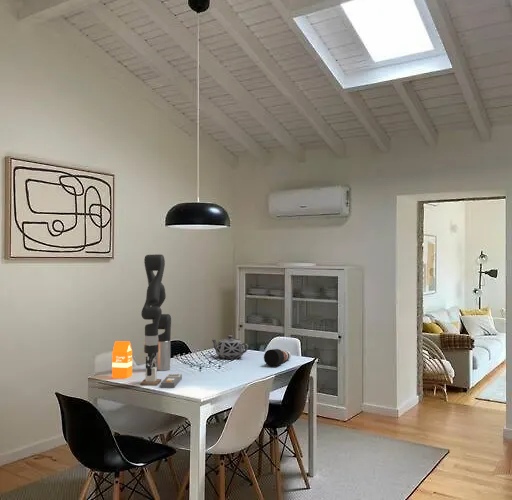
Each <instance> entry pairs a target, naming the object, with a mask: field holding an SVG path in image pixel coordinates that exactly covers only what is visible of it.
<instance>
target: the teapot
mask: <svg viewBox="0 0 512 500" xmlns="http://www.w3.org/2000/svg"><path fill="white" fill-rule="evenodd" d="M210 340H211V341H212V343H213V348H214V350H215V354H216V355H217V357H219V358H220V357H221V358H220V359H224V358H226V360H233V359H234V360H235V359H239V358H241V357H242V356H243V355H244V354H245V353H246V352H247V351H248V350H249V345H248V343H246V342H245V343H244V342H242V341H241V340H240V339H238V338H233V335H227V338H222V339H219V341H218V343H217V340H216V339H215V338H210ZM244 346H245V348H244Z"/></svg>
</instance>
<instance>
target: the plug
mask: <svg viewBox="0 0 512 500" xmlns="http://www.w3.org/2000/svg"><path fill="white" fill-rule="evenodd" d="M157 371H158V370H157V367H153V365H152V368H151V376H147V368H146V367H145V379H146V382H155V381H156V380H157V379H158V377H157V376H158V375H157V373H158V372H157Z"/></svg>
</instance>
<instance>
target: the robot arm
mask: <svg viewBox="0 0 512 500" xmlns="http://www.w3.org/2000/svg"><path fill="white" fill-rule="evenodd" d="M165 259H166V258H165V256H164V255H163V254H160V253H159V254H146V255H145V256H144V262H143V263H144V268H145V272H146V278H147V284H148V286H147V289H146V295H145V297H146V299H145V302H144V305H143V307H142V309H141V317H142V319H144V320H151V321H152V323H148V324H146V325H145V327H144V337H143V338H144V340H143V344H144V345H143V346H144V347H143V352H144V354H147V356H146V357H145V369H146V368H147V376H151V368H152V365H153V367H157V371H169V370H171V334H172V333H171V329H172V317H171V314H169V313H162V312H163V311H162V309H161V307H162V305H163V303H164V302H165V300H166V297H167V296H166V295H167V293H166V287H165V286H164V284H163V283H162V280H163V276H164V272H165V268H166V267H165V264H166V260H165ZM155 271H156V272H157V273H156V275H155V273H154V272H155ZM159 330H164V331H163V332H162V333H160V334H159Z"/></svg>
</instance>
